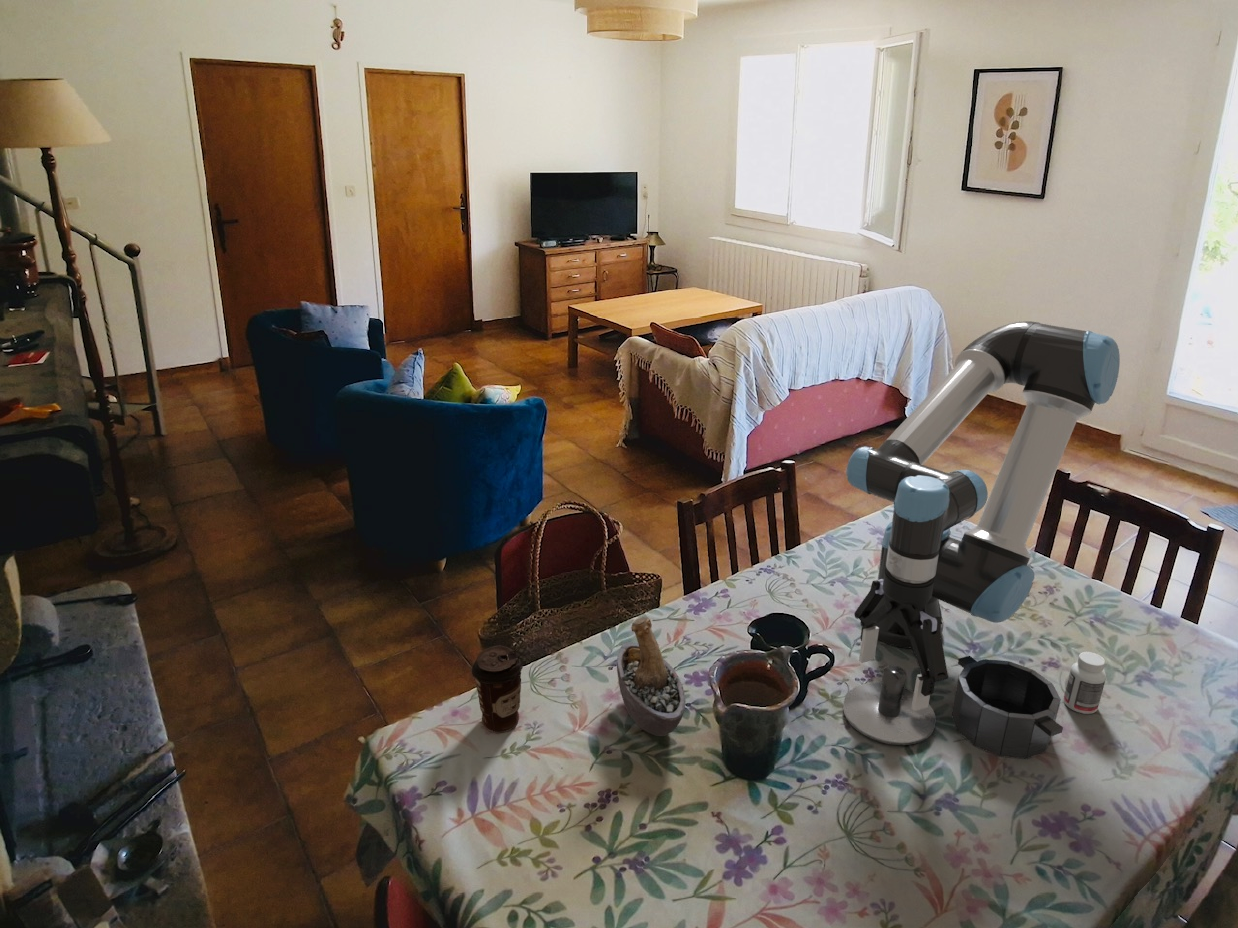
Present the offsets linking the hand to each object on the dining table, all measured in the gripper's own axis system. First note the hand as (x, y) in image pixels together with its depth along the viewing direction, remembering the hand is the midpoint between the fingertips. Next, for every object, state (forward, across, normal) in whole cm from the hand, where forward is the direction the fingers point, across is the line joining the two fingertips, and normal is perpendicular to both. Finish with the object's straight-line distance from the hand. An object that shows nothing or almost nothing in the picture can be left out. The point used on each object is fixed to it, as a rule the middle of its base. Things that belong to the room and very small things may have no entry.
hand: (892, 683), depth 141 cm
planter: (+8, -16, -37) cm, 41 cm away
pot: (+7, +9, +16) cm, 20 cm away
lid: (+8, 0, 0) cm, 8 cm away
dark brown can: (+8, -24, -61) cm, 66 cm away
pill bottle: (+7, +10, +34) cm, 36 cm away
